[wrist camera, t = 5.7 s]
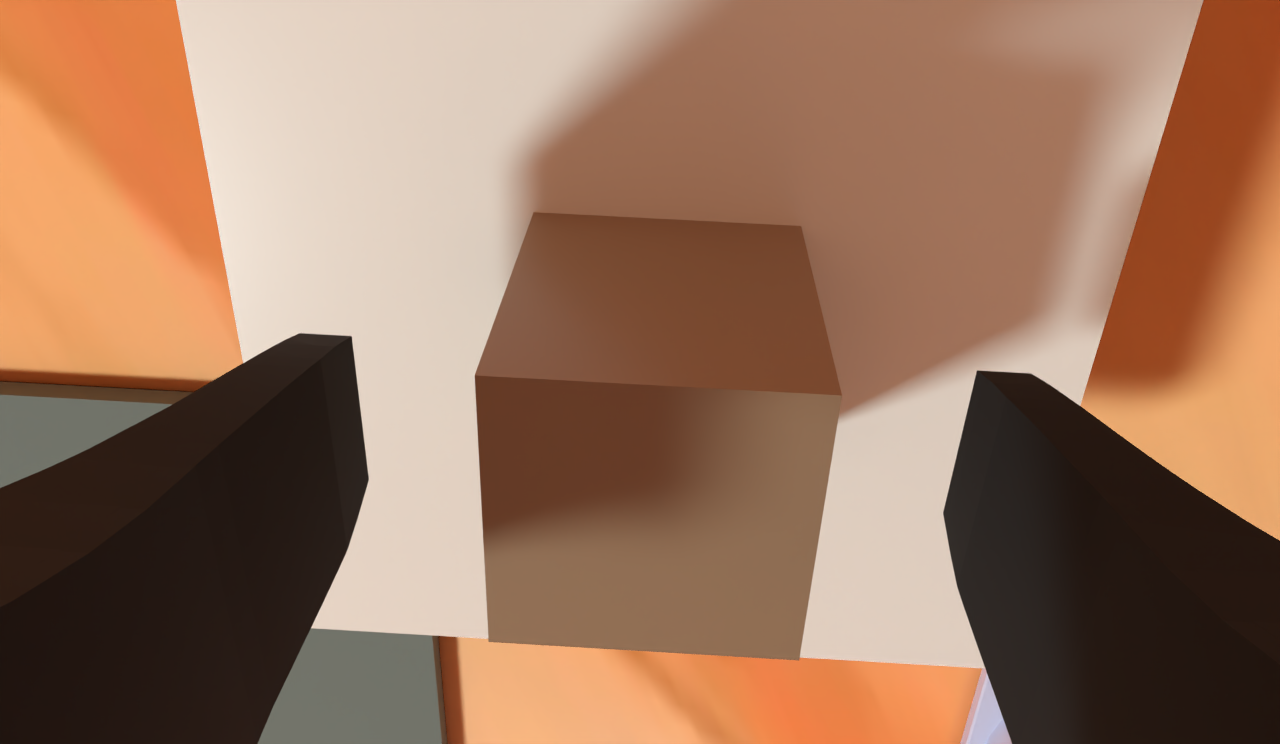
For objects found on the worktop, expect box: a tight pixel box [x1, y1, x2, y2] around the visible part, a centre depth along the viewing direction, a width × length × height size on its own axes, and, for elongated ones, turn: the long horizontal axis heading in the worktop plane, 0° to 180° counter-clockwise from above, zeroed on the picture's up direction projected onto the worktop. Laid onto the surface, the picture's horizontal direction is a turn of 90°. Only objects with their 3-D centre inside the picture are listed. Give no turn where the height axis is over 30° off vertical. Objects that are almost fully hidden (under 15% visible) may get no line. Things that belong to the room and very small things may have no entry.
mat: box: [0, 381, 447, 744], centre depth 25 cm, size 14×14×1 cm
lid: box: [176, 0, 1203, 668], centre depth 13 cm, size 12×12×5 cm
